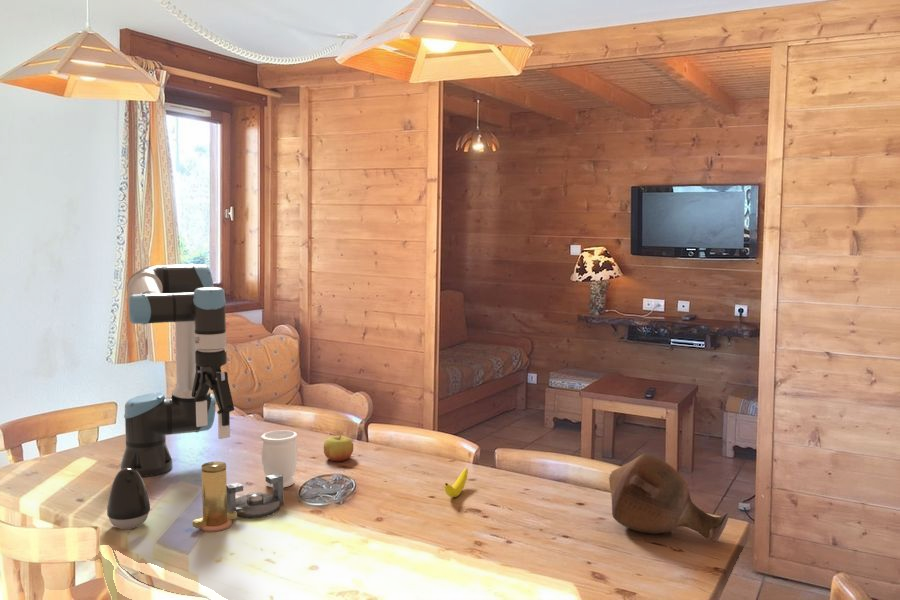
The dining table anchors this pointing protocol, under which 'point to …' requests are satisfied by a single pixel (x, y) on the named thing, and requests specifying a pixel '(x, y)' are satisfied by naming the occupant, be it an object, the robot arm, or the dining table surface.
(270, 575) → the dining table surface
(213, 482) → the amber glass cylinder
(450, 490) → the banana
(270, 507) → the grey two-tab base
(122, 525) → the black and white egg
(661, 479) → the jug
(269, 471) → the jar
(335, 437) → the apple
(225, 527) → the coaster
